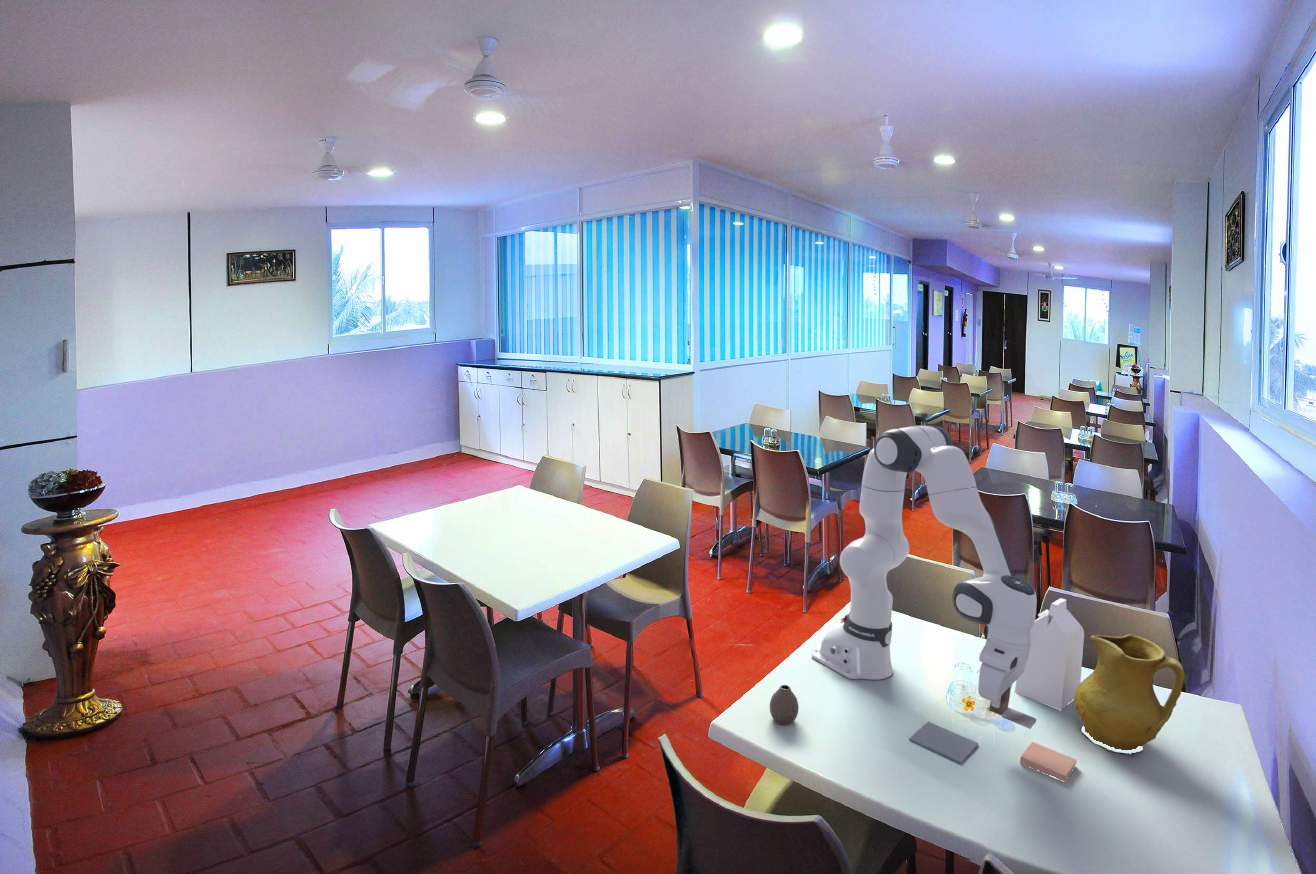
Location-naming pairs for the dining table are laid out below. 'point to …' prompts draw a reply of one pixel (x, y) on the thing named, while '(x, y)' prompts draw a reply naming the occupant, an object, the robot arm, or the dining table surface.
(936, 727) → the pad
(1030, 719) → the brown block
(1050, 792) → the dining table surface
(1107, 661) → the pitcher
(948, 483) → the robot arm
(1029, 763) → the tile
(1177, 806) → the dining table surface
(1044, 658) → the milk
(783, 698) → the vase
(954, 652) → the dining table surface
